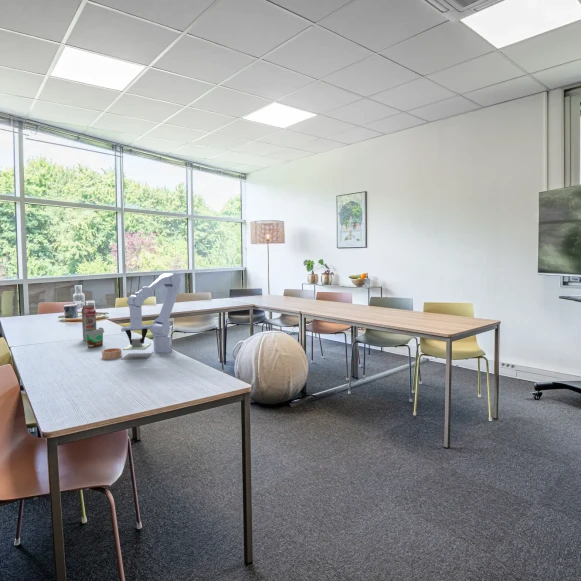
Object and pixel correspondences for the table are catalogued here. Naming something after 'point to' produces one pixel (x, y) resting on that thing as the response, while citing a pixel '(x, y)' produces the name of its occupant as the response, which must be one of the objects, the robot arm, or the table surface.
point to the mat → (137, 356)
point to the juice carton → (88, 319)
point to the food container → (95, 338)
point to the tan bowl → (111, 353)
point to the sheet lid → (137, 345)
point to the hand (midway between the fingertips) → (137, 343)
